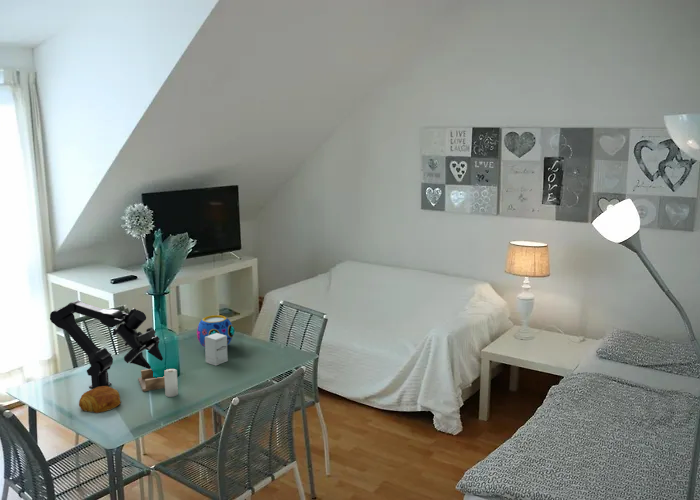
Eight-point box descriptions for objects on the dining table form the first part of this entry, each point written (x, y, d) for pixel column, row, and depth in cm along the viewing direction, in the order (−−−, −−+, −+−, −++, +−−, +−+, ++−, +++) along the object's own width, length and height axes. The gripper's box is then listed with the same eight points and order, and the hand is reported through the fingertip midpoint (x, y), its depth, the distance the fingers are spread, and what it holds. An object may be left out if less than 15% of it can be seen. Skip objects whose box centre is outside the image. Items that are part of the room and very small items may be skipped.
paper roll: (173, 397, 255) (172, 374, 253) (162, 395, 257) (161, 372, 255) (180, 392, 260) (179, 369, 258) (170, 391, 261) (168, 367, 259)
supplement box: (216, 366, 288) (214, 339, 285) (205, 362, 292) (204, 336, 290) (228, 361, 293) (227, 335, 291) (217, 357, 298) (216, 332, 295)
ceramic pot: (209, 357, 299) (208, 326, 296) (190, 347, 311) (189, 318, 308) (241, 348, 310) (240, 319, 307) (221, 339, 323) (220, 310, 320)
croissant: (76, 410, 248) (71, 392, 246) (113, 394, 258) (109, 376, 256) (91, 422, 238) (86, 403, 236) (129, 404, 248) (125, 386, 246)
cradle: (142, 391, 260) (142, 381, 260) (138, 380, 272) (137, 370, 271) (172, 386, 266) (172, 376, 265) (166, 375, 277) (166, 365, 276)
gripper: (128, 331, 246) (155, 360, 246) (154, 316, 264) (179, 344, 263) (112, 348, 250) (139, 377, 249) (138, 333, 267) (163, 360, 267)
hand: (156, 364), depth 257 cm, fingers open, 9 cm apart
